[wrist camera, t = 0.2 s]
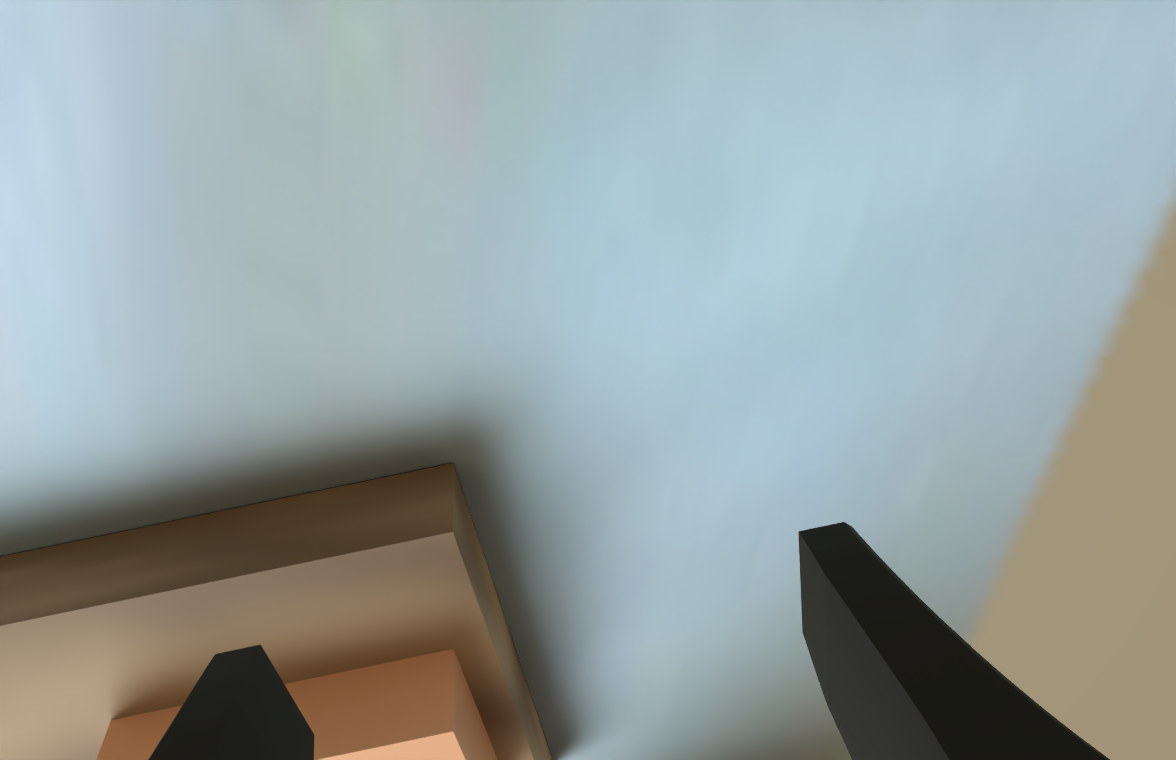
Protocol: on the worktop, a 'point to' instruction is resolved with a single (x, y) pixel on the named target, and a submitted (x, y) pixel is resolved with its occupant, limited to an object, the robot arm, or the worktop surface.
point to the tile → (358, 715)
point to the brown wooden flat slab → (254, 610)
